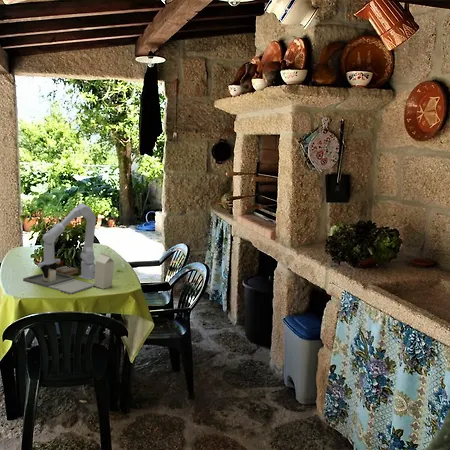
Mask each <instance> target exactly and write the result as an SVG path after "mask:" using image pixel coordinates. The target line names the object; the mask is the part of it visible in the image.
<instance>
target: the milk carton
mask: <svg viewBox="0 0 450 450" xmlns="http://www.w3.org/2000/svg"><path fill="white" fill-rule="evenodd" d="M95 264H96V266H95V278H93V279H94V281H93V282H94V283H93V284H94V286H96V287H97V288H99V289H102V290H103V289H104V288H105V289H108V288H110V286H111V287H113V279H114V267H115V265H114V264H115V261H114V260H113V259H112V258H111V255H109V254H106V253H103V252H100V255H98V257H97V258H96V259H95Z"/></svg>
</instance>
